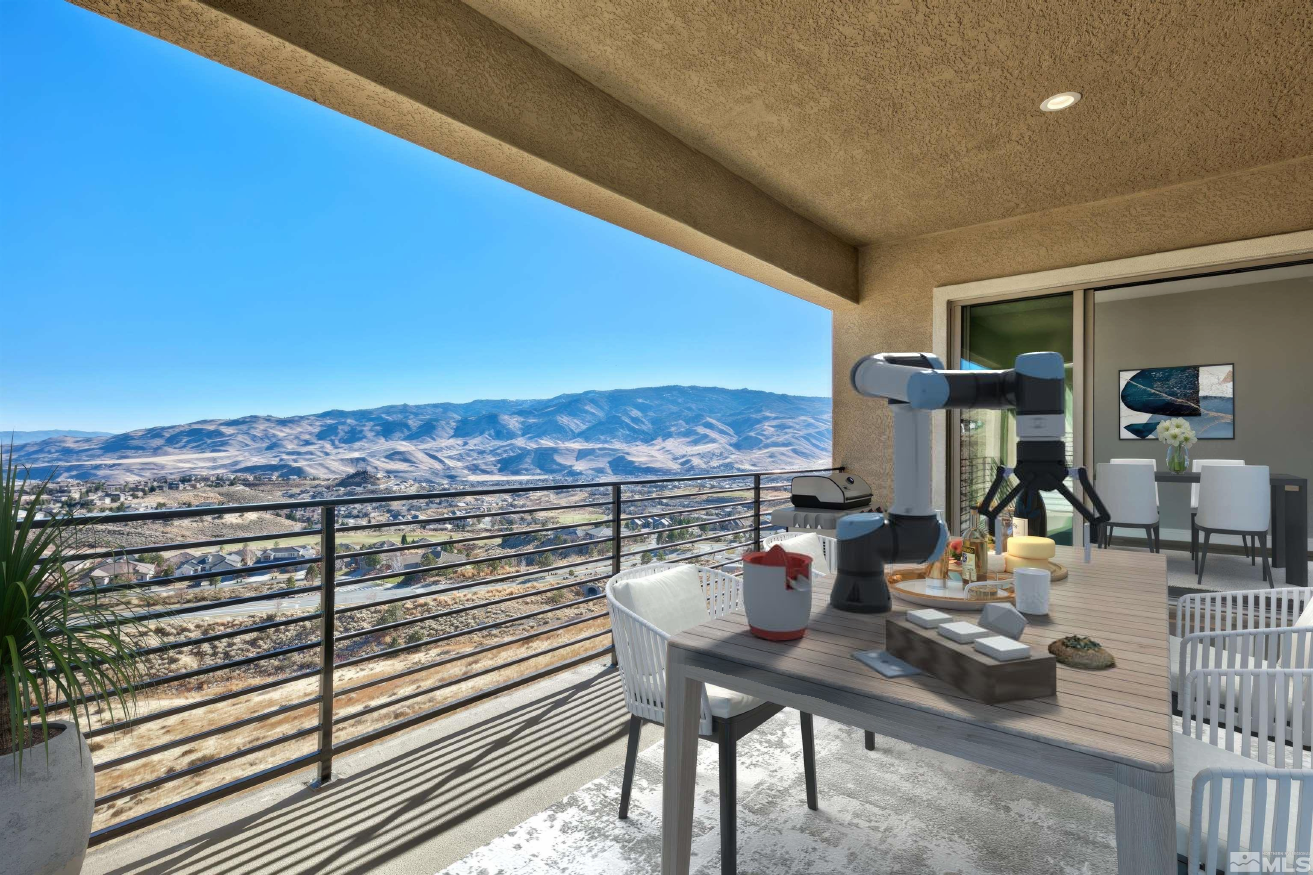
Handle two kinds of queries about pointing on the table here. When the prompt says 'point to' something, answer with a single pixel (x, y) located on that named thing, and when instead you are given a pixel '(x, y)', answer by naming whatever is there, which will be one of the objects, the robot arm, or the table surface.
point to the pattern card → (885, 663)
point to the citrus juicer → (777, 593)
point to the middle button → (962, 631)
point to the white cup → (1032, 590)
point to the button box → (972, 663)
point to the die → (1003, 620)
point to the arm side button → (928, 618)
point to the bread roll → (1080, 652)
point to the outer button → (1002, 648)
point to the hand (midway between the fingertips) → (1041, 558)
